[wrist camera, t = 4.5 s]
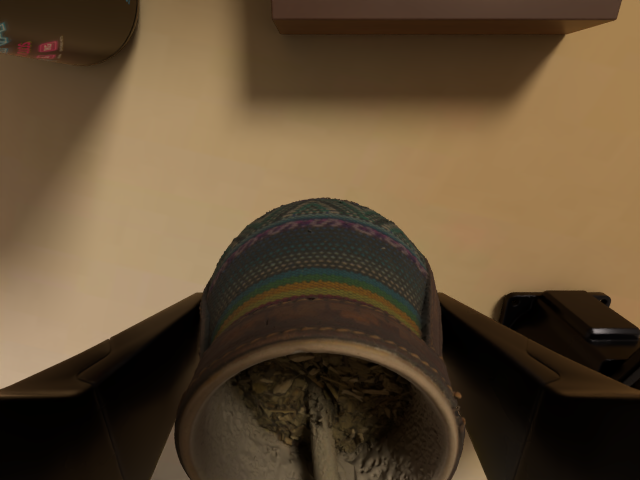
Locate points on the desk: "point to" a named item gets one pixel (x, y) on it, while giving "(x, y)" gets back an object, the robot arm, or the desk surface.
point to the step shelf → (441, 16)
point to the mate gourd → (320, 356)
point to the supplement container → (67, 29)
